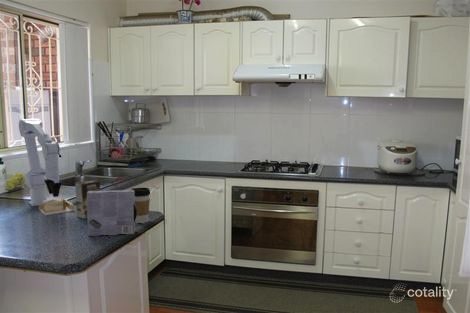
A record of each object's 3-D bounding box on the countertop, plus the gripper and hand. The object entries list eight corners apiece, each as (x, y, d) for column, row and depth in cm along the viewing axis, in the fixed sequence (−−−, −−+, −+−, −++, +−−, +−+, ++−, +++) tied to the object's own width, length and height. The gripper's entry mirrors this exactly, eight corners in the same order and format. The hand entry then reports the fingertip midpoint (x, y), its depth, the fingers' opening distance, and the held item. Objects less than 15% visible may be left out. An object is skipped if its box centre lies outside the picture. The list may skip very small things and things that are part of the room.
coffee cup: (128, 221, 181) (126, 188, 179) (144, 217, 187) (143, 185, 185) (138, 225, 175) (137, 191, 173) (155, 221, 181) (153, 188, 179)
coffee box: (83, 219, 185) (81, 184, 183) (76, 216, 189) (74, 182, 187) (101, 214, 192) (100, 181, 190) (94, 212, 196) (92, 179, 194)
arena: (39, 210, 201) (38, 204, 200) (66, 205, 209) (66, 200, 208) (45, 215, 191) (45, 209, 191) (74, 210, 199) (73, 204, 199)
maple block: (43, 209, 199) (42, 200, 198) (62, 206, 204) (62, 197, 204) (46, 212, 195) (45, 202, 194) (65, 208, 201) (65, 199, 200)
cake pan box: (138, 230, 169) (136, 188, 167) (137, 234, 164) (135, 191, 162) (89, 233, 166) (87, 190, 164) (87, 237, 161) (84, 193, 159)
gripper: (39, 166, 200) (41, 193, 202) (46, 170, 189) (48, 199, 191) (54, 164, 204) (56, 191, 206) (62, 168, 193) (64, 197, 195)
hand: (53, 195), depth 199 cm, fingers open, 7 cm apart
